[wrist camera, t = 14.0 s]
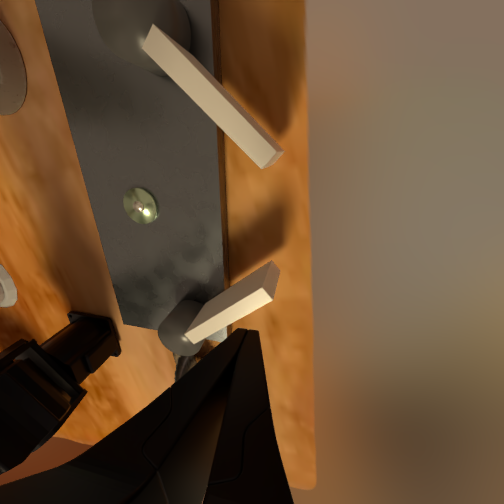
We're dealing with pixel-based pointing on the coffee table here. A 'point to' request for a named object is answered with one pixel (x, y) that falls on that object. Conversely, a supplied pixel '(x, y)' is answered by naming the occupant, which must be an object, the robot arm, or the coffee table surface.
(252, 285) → the knob
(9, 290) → the french press
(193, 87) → the knob
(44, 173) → the coffee table surface
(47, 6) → the plate
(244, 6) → the coffee table surface
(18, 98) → the thermos bottle
